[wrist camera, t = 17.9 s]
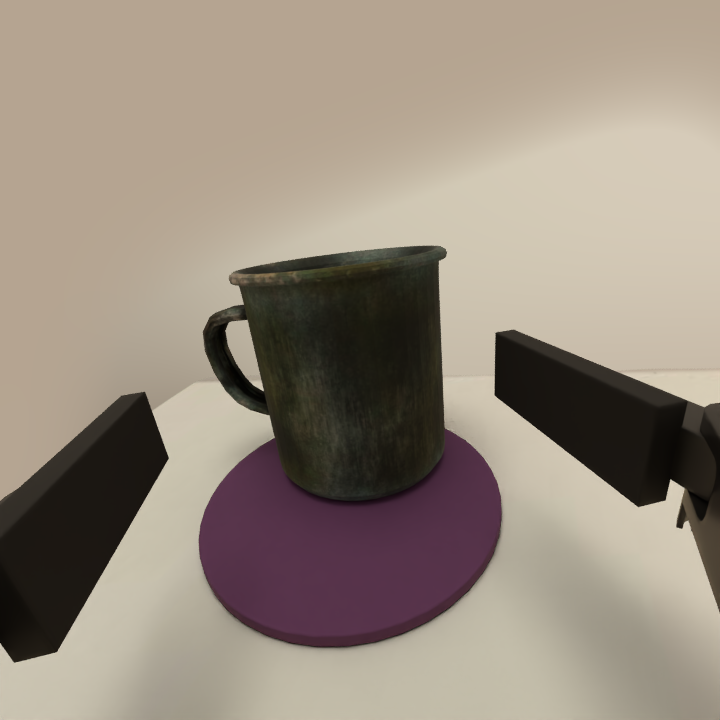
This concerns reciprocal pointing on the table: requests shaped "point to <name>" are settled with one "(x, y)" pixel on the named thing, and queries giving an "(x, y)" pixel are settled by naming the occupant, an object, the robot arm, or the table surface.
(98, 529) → the robot arm
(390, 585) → the place mat
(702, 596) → the table surface
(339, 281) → the mug
